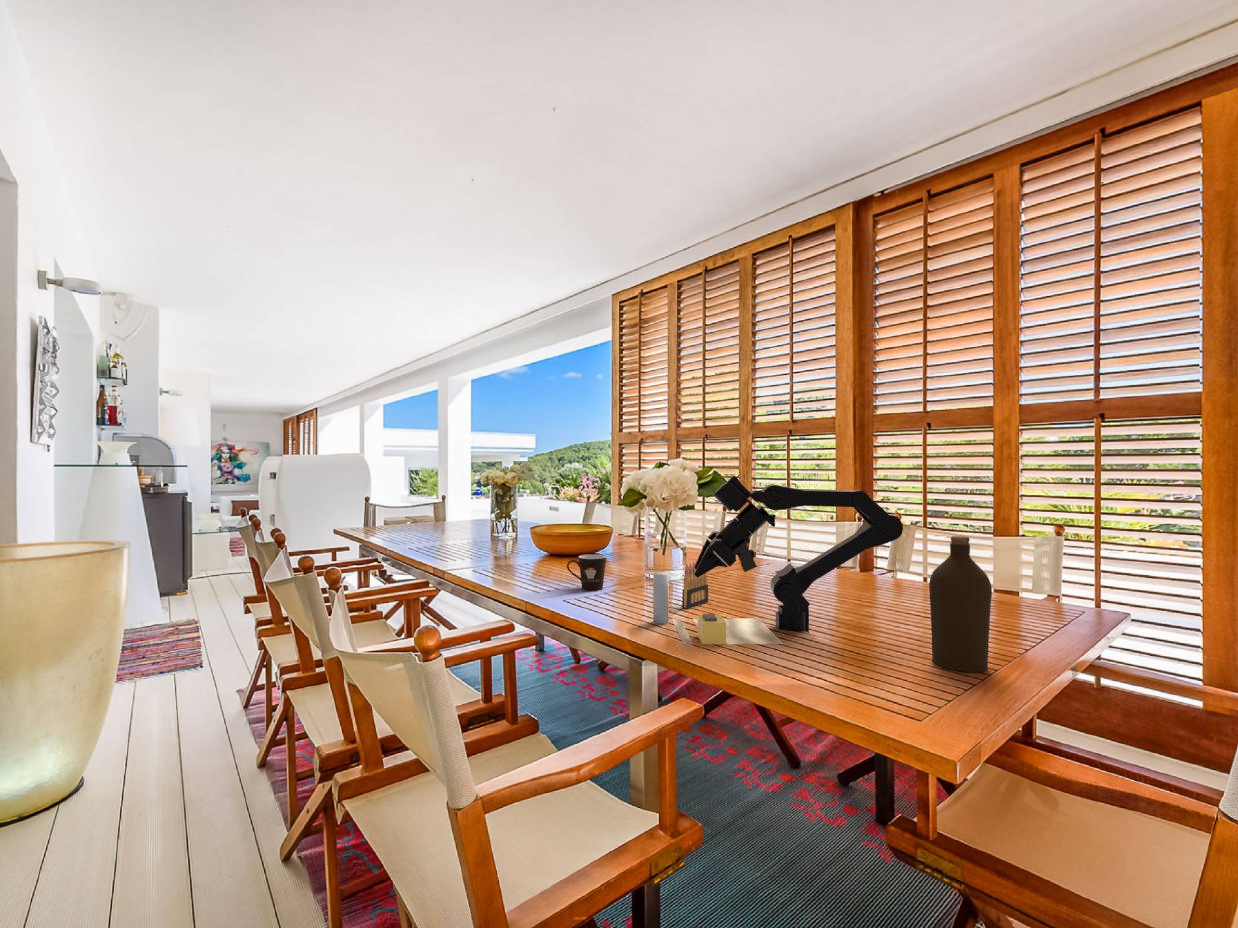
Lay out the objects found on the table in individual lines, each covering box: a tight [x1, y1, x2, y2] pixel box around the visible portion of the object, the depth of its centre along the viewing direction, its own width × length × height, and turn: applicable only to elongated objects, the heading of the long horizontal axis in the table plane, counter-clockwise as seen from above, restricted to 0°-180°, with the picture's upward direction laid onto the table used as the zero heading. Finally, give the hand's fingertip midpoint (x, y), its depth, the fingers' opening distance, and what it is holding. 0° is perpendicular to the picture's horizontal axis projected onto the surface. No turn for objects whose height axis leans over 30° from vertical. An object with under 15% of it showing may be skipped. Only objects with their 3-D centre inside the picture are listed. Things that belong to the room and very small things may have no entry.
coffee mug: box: [566, 554, 607, 592], centre depth 184 cm, size 12×9×10 cm
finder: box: [697, 613, 727, 645], centre depth 126 cm, size 5×6×5 cm
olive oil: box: [928, 535, 993, 673], centre depth 115 cm, size 11×11×25 cm
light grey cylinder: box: [652, 571, 670, 626], centre depth 139 cm, size 4×4×13 cm
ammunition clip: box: [681, 562, 709, 610], centre depth 163 cm, size 11×2×12 cm, turn 140°
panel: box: [671, 617, 784, 646], centre depth 133 cm, size 21×20×2 cm
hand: (695, 572), depth 138 cm, fingers open, 9 cm apart
